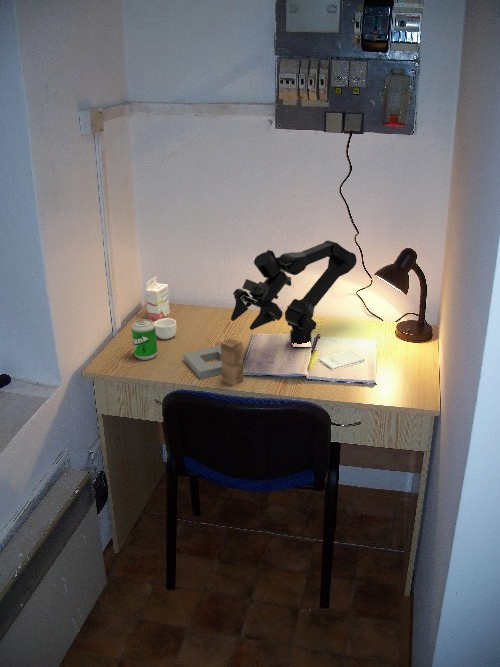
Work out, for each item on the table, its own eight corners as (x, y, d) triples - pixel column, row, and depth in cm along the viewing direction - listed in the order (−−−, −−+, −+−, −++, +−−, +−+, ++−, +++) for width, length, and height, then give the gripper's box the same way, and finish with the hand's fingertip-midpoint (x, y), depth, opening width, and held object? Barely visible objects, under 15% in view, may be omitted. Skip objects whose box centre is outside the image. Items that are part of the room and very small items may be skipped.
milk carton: (159, 321, 243) (156, 283, 237) (147, 319, 245) (144, 282, 239) (170, 313, 250) (167, 276, 244) (159, 311, 252) (156, 275, 246)
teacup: (172, 342, 226) (171, 327, 224) (151, 340, 228) (150, 326, 226) (182, 330, 235) (181, 316, 233) (162, 328, 237) (161, 315, 235)
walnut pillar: (232, 376, 203) (231, 337, 197) (243, 380, 200) (242, 341, 194) (222, 381, 199) (220, 342, 194) (233, 385, 197) (231, 346, 191)
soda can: (148, 349, 221) (145, 316, 217) (162, 355, 217) (159, 322, 212) (130, 356, 217) (126, 322, 212) (143, 363, 212) (140, 329, 207)
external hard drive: (364, 363, 210) (332, 372, 205) (349, 353, 216) (317, 362, 211) (364, 358, 209) (332, 367, 204) (349, 349, 216) (317, 357, 211)
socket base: (224, 351, 219) (224, 344, 218) (243, 368, 207) (243, 361, 206) (183, 360, 213) (183, 353, 212) (200, 379, 201) (200, 371, 200)
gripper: (240, 263, 206) (209, 300, 203) (280, 277, 193) (247, 317, 190) (256, 285, 214) (227, 321, 210) (296, 301, 201) (265, 339, 197)
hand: (240, 324), depth 202 cm, fingers open, 9 cm apart
